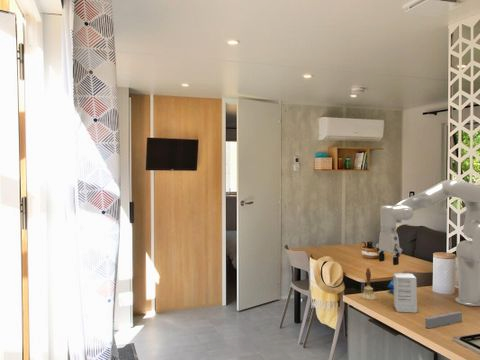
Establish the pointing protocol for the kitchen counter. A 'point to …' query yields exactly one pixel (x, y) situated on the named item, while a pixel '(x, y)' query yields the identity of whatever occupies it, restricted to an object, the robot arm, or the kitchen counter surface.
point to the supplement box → (405, 292)
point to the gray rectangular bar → (443, 319)
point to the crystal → (391, 286)
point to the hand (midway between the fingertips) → (388, 262)
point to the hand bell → (368, 288)
